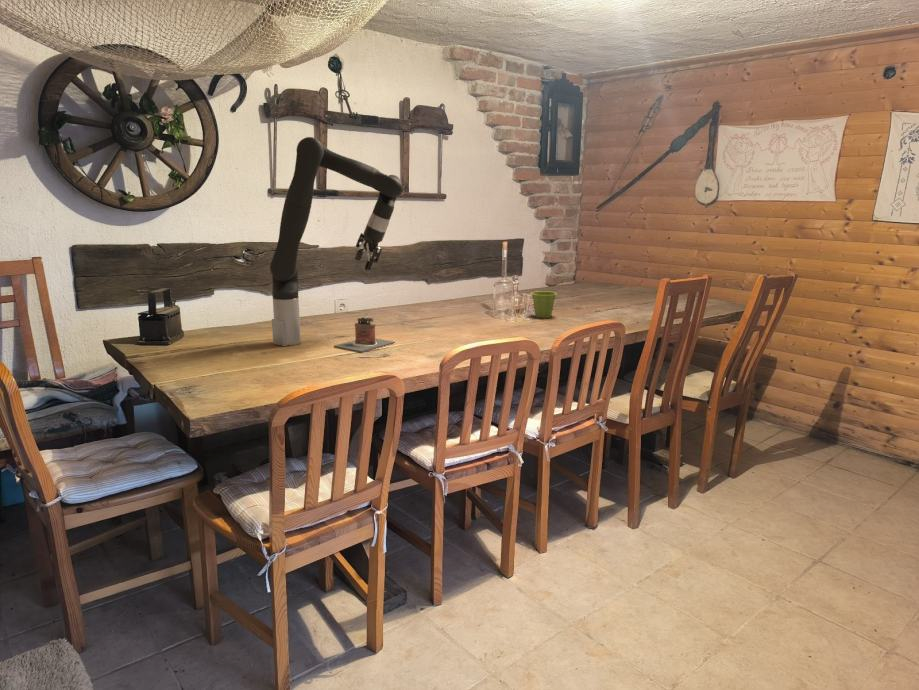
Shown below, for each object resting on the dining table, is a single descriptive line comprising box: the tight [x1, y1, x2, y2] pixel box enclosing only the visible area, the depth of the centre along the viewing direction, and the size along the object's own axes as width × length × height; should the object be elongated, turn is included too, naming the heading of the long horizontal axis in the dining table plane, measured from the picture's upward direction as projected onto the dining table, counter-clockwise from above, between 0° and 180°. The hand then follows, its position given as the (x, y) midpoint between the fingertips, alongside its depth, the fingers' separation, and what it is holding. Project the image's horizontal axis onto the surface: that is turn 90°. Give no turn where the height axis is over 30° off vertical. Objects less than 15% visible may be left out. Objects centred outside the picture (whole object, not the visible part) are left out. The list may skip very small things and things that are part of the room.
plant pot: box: [530, 290, 558, 319], centre depth 288 cm, size 12×12×11 cm
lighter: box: [354, 316, 376, 345], centre depth 232 cm, size 8×3×10 cm, turn 74°
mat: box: [333, 337, 396, 354], centre depth 233 cm, size 18×14×1 cm
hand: (362, 264), depth 243 cm, fingers open, 8 cm apart
